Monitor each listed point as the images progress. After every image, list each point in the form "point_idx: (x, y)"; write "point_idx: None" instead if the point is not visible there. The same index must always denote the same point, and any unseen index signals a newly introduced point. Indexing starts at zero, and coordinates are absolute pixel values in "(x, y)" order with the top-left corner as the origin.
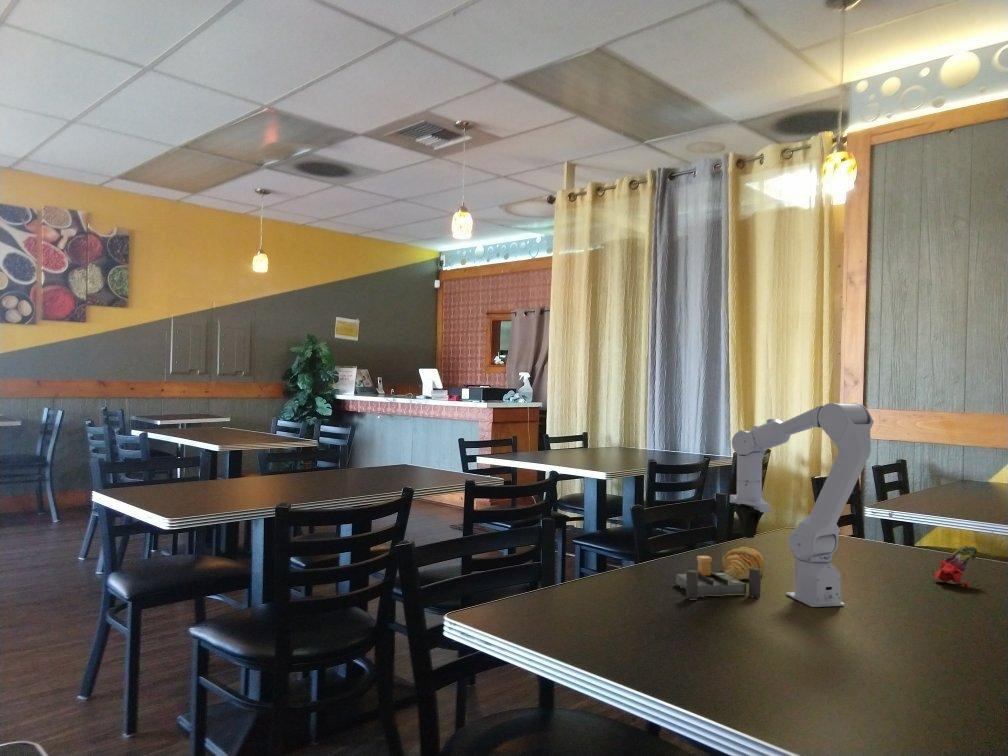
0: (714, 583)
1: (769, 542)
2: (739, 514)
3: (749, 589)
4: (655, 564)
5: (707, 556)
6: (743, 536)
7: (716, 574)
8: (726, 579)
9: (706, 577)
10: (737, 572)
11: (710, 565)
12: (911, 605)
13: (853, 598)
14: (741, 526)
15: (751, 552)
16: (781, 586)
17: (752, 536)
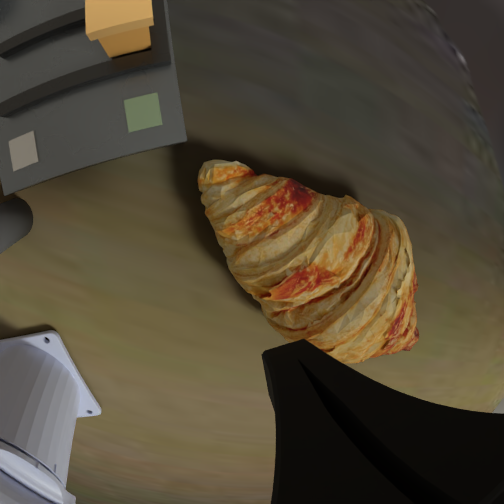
0: (10, 63)
1: (492, 365)
2: (426, 460)
3: (1, 203)
4: (419, 21)
5: (129, 14)
6: (303, 340)
7: (81, 77)
8: (4, 111)
9: (38, 29)
10: (209, 215)
11: (100, 41)
12: (86, 495)
13: (92, 453)
14: (349, 377)
15: (340, 333)
16: (163, 349)
17: (271, 396)
